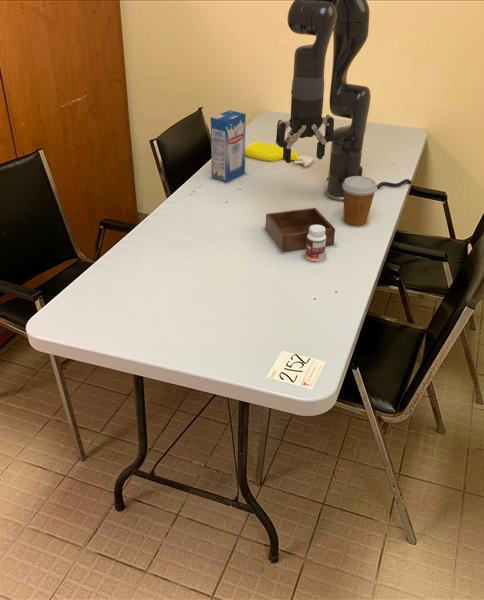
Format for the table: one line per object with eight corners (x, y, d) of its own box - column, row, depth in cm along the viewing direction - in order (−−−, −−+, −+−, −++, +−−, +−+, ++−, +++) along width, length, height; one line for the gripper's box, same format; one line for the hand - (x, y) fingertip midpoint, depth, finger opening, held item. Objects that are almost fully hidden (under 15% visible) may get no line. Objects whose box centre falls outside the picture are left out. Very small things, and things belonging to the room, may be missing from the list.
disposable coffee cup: (351, 211, 177) (356, 172, 170) (378, 221, 171) (384, 182, 164) (331, 221, 171) (335, 181, 165) (358, 232, 166) (364, 191, 159)
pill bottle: (304, 253, 156) (306, 224, 151) (322, 252, 156) (324, 223, 151) (307, 262, 152) (309, 232, 147) (325, 261, 152) (328, 232, 147)
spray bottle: (256, 147, 221) (317, 160, 212) (241, 156, 213) (304, 170, 204) (256, 140, 220) (318, 152, 210) (241, 148, 212) (305, 162, 202)
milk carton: (226, 182, 194) (226, 121, 183) (211, 178, 197) (210, 117, 186) (244, 173, 201) (245, 113, 189) (230, 169, 204) (230, 110, 192)
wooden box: (314, 223, 170) (315, 207, 168) (333, 245, 159) (335, 228, 157) (265, 229, 167) (265, 213, 164) (282, 252, 156) (282, 236, 153)
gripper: (284, 101, 136) (282, 169, 145) (342, 95, 139) (336, 162, 148) (273, 92, 142) (271, 158, 151) (328, 87, 145) (323, 151, 154)
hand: (303, 160), depth 150 cm, fingers open, 8 cm apart
